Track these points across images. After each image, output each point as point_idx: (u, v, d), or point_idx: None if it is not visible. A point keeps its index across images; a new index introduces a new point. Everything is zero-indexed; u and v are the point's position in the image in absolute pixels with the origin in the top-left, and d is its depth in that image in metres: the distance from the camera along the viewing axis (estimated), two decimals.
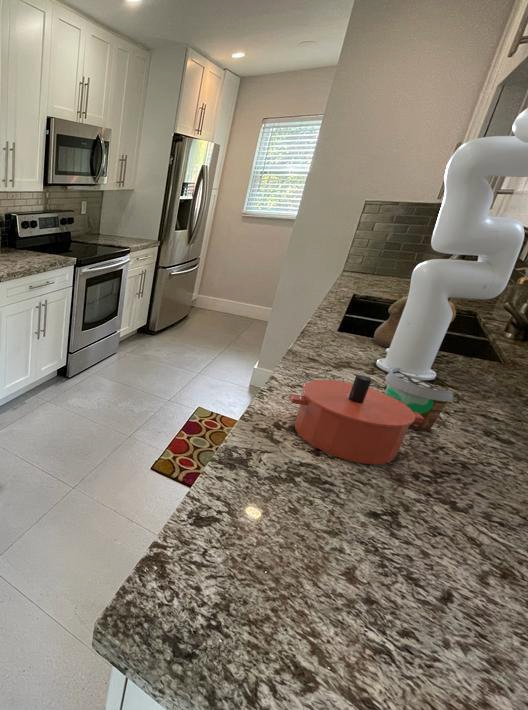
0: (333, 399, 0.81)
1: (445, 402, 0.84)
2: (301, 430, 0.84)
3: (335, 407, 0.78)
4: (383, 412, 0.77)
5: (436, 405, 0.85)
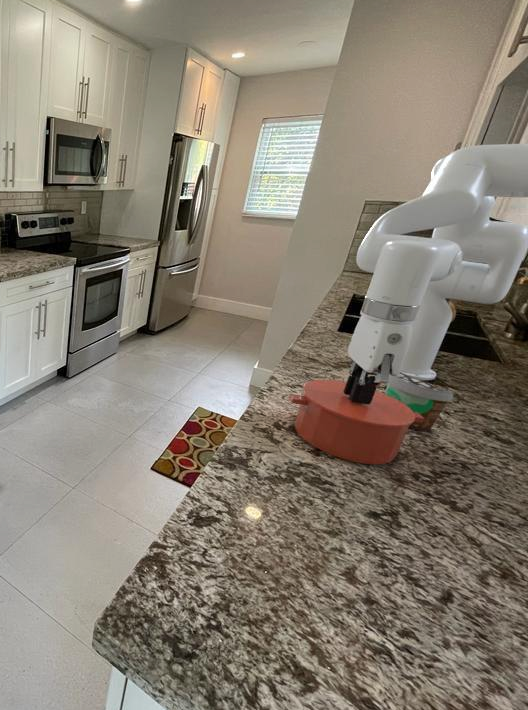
0: (333, 399, 0.81)
1: (445, 402, 0.84)
2: (301, 430, 0.84)
3: (335, 407, 0.78)
4: (383, 412, 0.77)
5: (436, 405, 0.85)
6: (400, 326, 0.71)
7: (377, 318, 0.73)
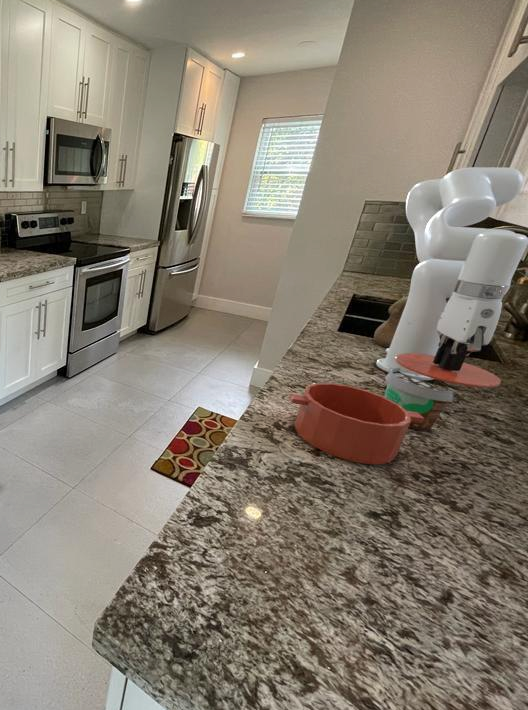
0: (426, 367, 0.96)
1: (445, 402, 0.84)
2: (301, 430, 0.84)
3: (431, 372, 0.93)
4: (472, 376, 0.92)
5: (436, 405, 0.85)
6: (492, 302, 0.86)
7: (471, 296, 0.88)
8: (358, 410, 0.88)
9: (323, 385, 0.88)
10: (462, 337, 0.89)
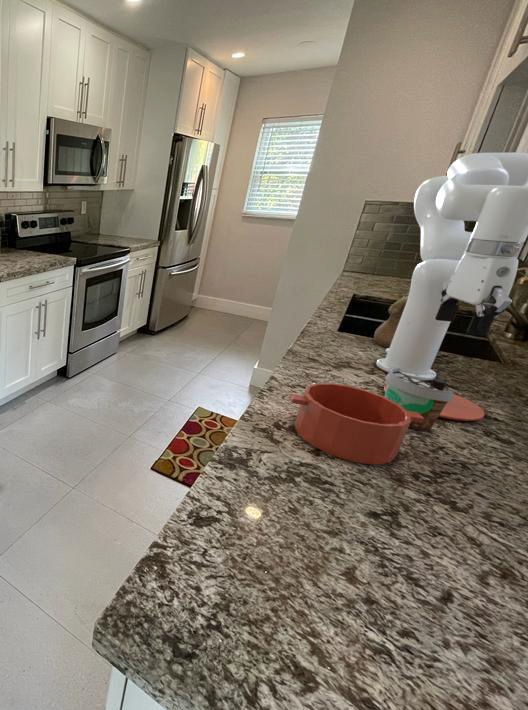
0: None
1: (445, 402, 0.84)
2: (301, 430, 0.84)
3: None
4: (457, 409, 0.94)
5: (436, 405, 0.85)
6: (508, 260, 0.81)
7: (485, 255, 0.83)
8: (358, 410, 0.88)
9: (323, 385, 0.88)
10: (476, 298, 0.85)
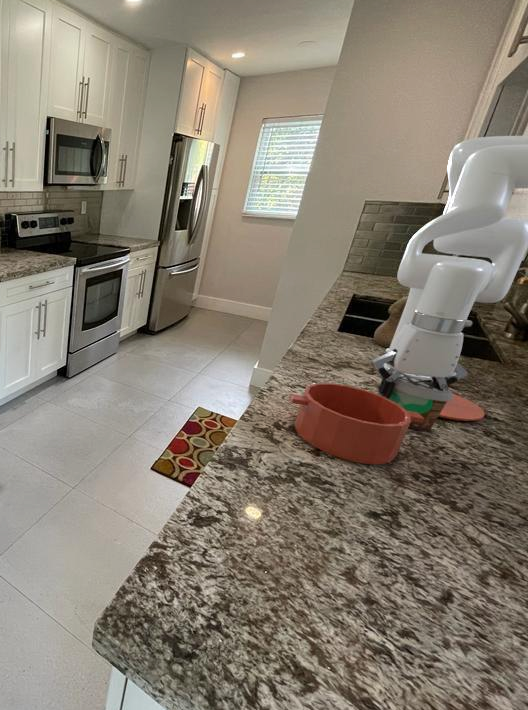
0: None
1: (445, 402, 0.84)
2: (301, 430, 0.84)
3: None
4: (457, 409, 0.94)
5: (436, 405, 0.85)
6: None
7: (459, 333, 0.81)
8: (358, 410, 0.88)
9: (323, 385, 0.88)
10: (450, 373, 0.84)
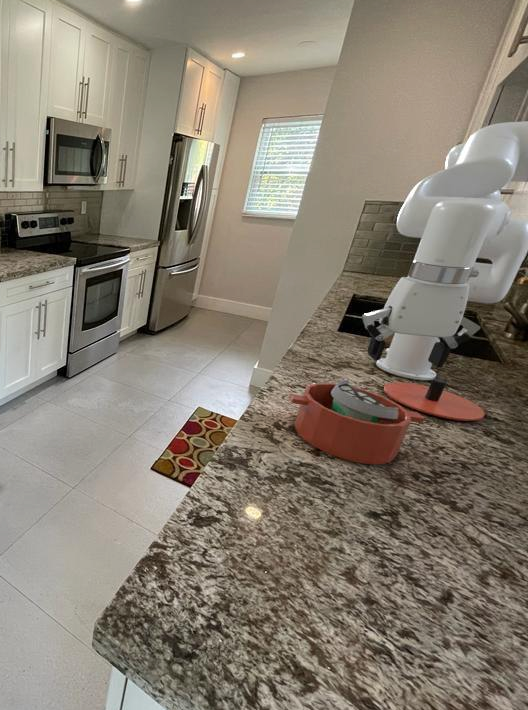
0: (413, 398, 0.99)
1: (390, 419, 0.77)
2: (301, 430, 0.84)
3: (417, 404, 0.96)
4: (457, 409, 0.94)
5: (381, 422, 0.77)
6: None
7: (464, 284, 0.70)
8: None
9: (323, 385, 0.88)
10: (453, 331, 0.73)
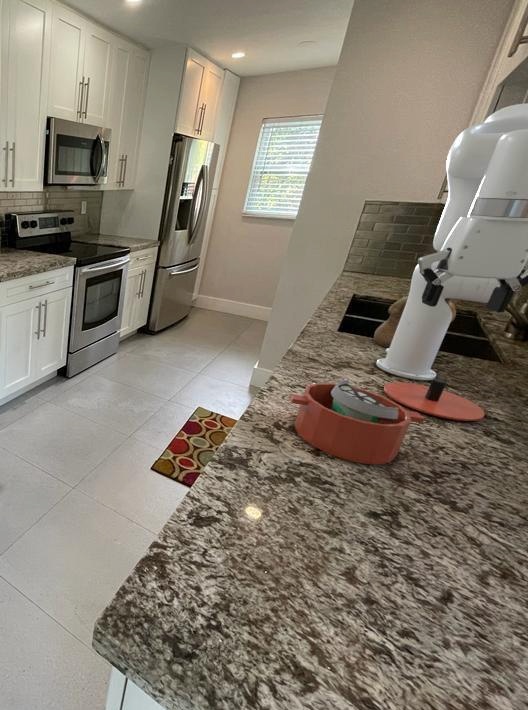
0: (413, 398, 0.99)
1: (390, 419, 0.77)
2: (301, 430, 0.84)
3: (417, 404, 0.96)
4: (457, 409, 0.94)
5: (381, 422, 0.77)
6: None
7: None
8: None
9: (323, 385, 0.88)
10: (517, 272, 0.69)
